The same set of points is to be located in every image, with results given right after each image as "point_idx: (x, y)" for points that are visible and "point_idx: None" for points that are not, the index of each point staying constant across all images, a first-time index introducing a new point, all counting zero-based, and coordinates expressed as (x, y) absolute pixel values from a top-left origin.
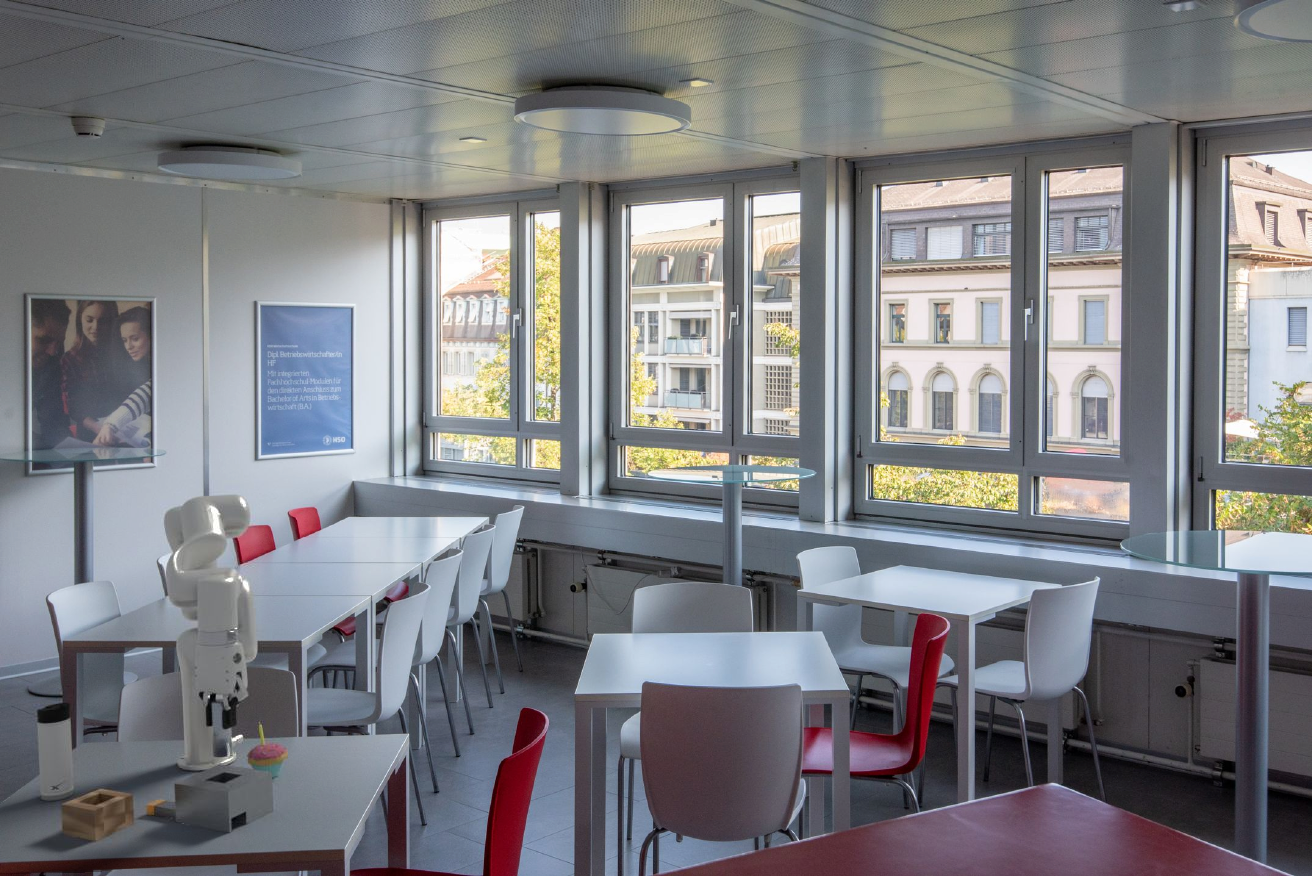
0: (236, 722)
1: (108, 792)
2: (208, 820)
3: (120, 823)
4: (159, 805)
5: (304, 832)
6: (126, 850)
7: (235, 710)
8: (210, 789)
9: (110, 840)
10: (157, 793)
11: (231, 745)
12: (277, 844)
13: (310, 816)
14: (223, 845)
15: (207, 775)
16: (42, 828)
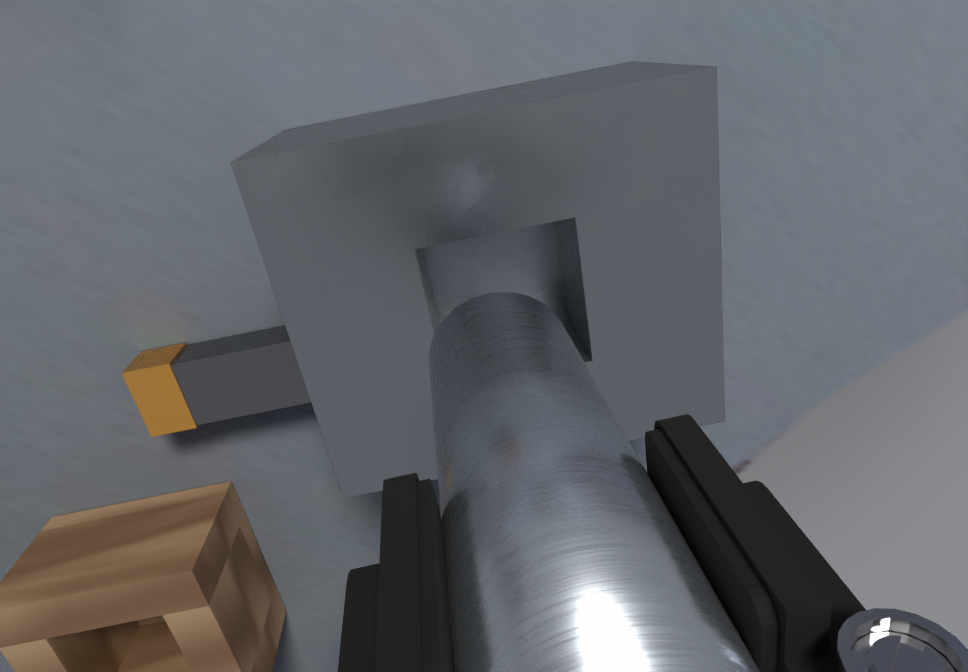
0: (695, 423)
1: (67, 614)
2: None
3: (247, 549)
4: (211, 410)
5: (949, 161)
6: None
7: (851, 600)
8: None
9: (322, 584)
10: None
11: (571, 342)
12: (914, 298)
13: (861, 7)
14: (725, 408)
15: (382, 338)
16: (2, 657)
